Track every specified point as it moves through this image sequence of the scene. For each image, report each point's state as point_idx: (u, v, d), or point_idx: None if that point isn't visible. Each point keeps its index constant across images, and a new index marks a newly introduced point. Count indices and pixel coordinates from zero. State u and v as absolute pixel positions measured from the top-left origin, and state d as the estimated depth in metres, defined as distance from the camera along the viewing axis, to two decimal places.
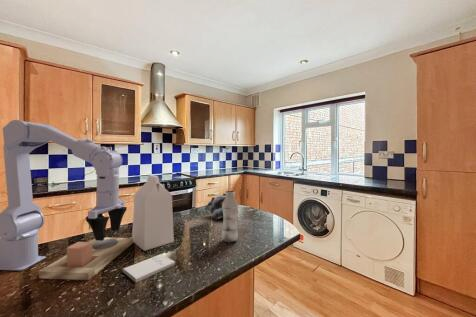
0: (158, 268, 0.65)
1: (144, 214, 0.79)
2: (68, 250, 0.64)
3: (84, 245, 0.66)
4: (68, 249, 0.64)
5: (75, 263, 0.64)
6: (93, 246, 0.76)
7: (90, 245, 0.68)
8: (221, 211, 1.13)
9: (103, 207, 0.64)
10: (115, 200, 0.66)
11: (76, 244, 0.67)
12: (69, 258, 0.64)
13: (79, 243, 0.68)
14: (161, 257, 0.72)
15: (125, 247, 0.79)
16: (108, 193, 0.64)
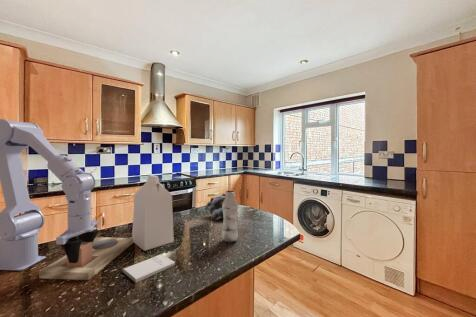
0: (158, 268, 0.65)
1: (144, 214, 0.79)
2: None
3: (84, 245, 0.66)
4: None
5: (75, 263, 0.64)
6: (93, 246, 0.76)
7: (90, 245, 0.68)
8: (220, 211, 1.13)
9: (73, 231, 0.63)
10: (86, 224, 0.65)
11: None
12: None
13: None
14: (161, 257, 0.72)
15: (125, 247, 0.79)
16: (79, 217, 0.64)
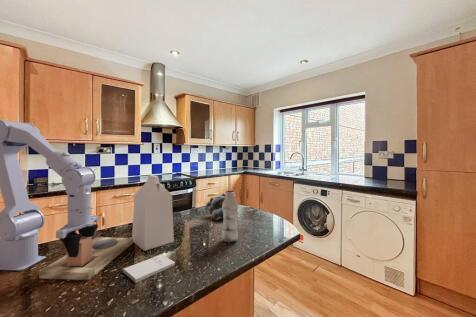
0: (158, 269, 0.65)
1: (144, 214, 0.79)
2: None
3: (84, 239, 0.66)
4: None
5: (75, 258, 0.64)
6: (93, 246, 0.76)
7: (90, 240, 0.68)
8: (220, 211, 1.13)
9: (73, 225, 0.63)
10: (86, 218, 0.65)
11: None
12: None
13: None
14: (161, 258, 0.72)
15: (125, 247, 0.79)
16: (78, 211, 0.64)
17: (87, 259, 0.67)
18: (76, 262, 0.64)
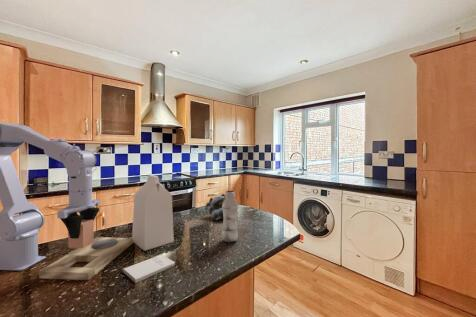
0: (158, 269, 0.65)
1: (144, 214, 0.79)
2: None
3: (85, 222, 0.67)
4: None
5: (77, 239, 0.65)
6: (93, 246, 0.76)
7: (91, 222, 0.68)
8: (220, 212, 1.12)
9: (75, 207, 0.64)
10: (87, 200, 0.66)
11: None
12: None
13: None
14: (161, 258, 0.71)
15: (125, 247, 0.79)
16: (80, 193, 0.64)
17: (89, 241, 0.67)
18: (78, 244, 0.65)
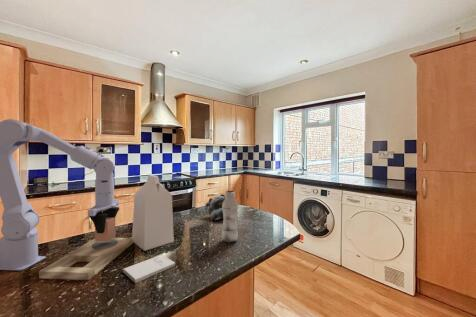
0: (158, 269, 0.65)
1: (144, 214, 0.79)
2: None
3: (109, 219, 0.78)
4: None
5: (102, 234, 0.76)
6: (93, 246, 0.76)
7: (114, 220, 0.80)
8: (220, 212, 1.12)
9: (100, 206, 0.75)
10: (110, 201, 0.77)
11: None
12: None
13: None
14: (161, 258, 0.71)
15: (125, 247, 0.79)
16: (105, 194, 0.76)
17: (112, 236, 0.79)
18: (103, 238, 0.76)
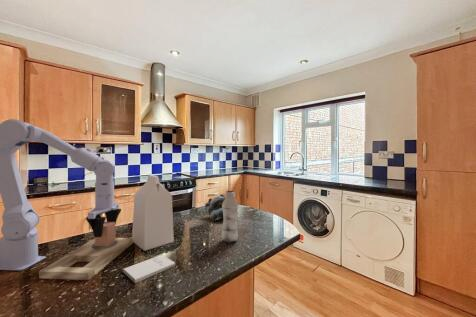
0: (158, 269, 0.65)
1: (144, 214, 0.79)
2: None
3: (109, 224, 0.78)
4: None
5: (102, 239, 0.76)
6: (93, 246, 0.76)
7: (114, 224, 0.80)
8: (219, 212, 1.12)
9: (100, 209, 0.75)
10: (110, 203, 0.77)
11: None
12: None
13: (104, 223, 0.80)
14: (161, 258, 0.71)
15: (125, 247, 0.79)
16: (105, 197, 0.76)
17: (112, 241, 0.79)
18: (103, 243, 0.76)
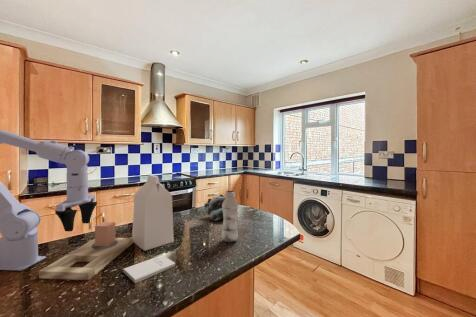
0: (158, 269, 0.65)
1: (144, 214, 0.79)
2: (96, 228, 0.76)
3: (109, 224, 0.78)
4: (96, 227, 0.76)
5: (102, 239, 0.76)
6: (93, 246, 0.76)
7: (114, 224, 0.80)
8: (219, 212, 1.11)
9: (72, 201, 0.70)
10: (83, 195, 0.72)
11: (102, 223, 0.79)
12: (97, 235, 0.76)
13: (104, 223, 0.80)
14: (161, 258, 0.71)
15: (125, 247, 0.79)
16: (76, 188, 0.71)
17: (112, 241, 0.79)
18: (103, 243, 0.76)
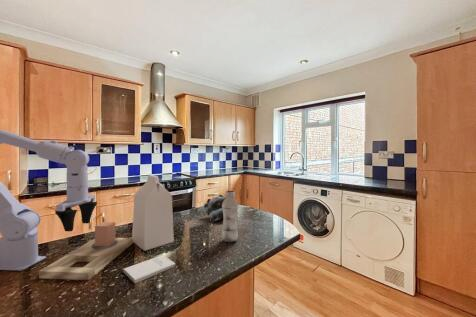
0: (158, 269, 0.65)
1: (144, 214, 0.79)
2: (96, 228, 0.76)
3: (109, 224, 0.78)
4: (96, 227, 0.76)
5: (102, 239, 0.76)
6: (93, 246, 0.76)
7: (114, 224, 0.80)
8: (219, 212, 1.11)
9: (72, 201, 0.70)
10: (83, 195, 0.72)
11: (102, 223, 0.79)
12: (97, 235, 0.76)
13: (104, 223, 0.80)
14: (161, 258, 0.71)
15: (125, 247, 0.79)
16: (76, 188, 0.71)
17: (112, 241, 0.79)
18: (103, 243, 0.76)
